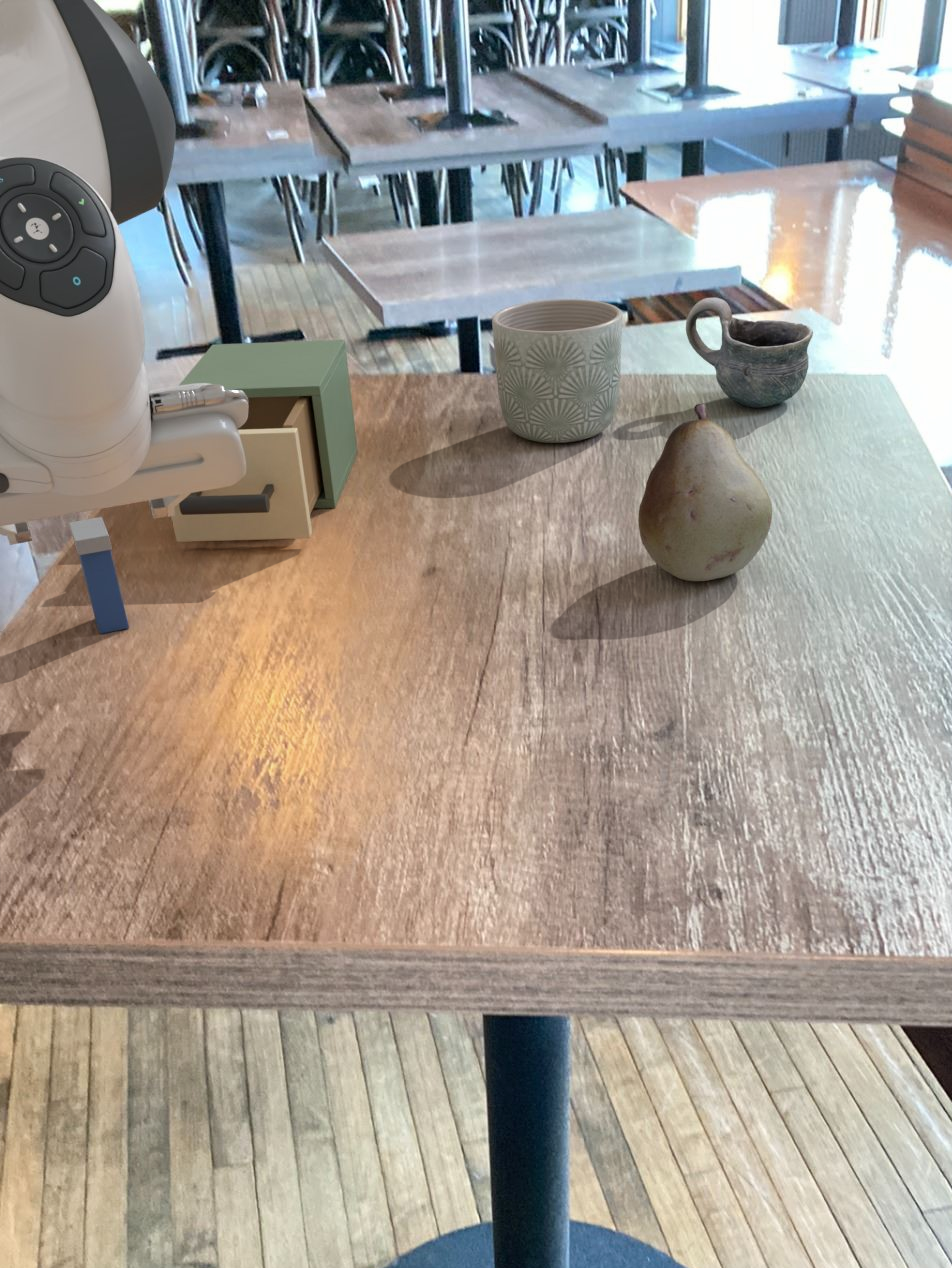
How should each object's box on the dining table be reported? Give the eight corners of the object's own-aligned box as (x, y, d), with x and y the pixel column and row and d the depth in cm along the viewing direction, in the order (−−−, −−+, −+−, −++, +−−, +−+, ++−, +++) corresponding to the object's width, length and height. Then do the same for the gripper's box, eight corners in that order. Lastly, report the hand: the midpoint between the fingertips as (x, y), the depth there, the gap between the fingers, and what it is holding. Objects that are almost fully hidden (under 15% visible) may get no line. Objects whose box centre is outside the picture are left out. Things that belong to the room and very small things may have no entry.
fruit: (718, 536, 109) (725, 386, 102) (795, 573, 102) (809, 415, 95) (616, 567, 105) (616, 413, 98) (690, 608, 98) (696, 446, 91)
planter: (642, 439, 129) (643, 320, 122) (522, 459, 126) (517, 338, 119) (593, 404, 138) (592, 292, 132) (481, 422, 135) (474, 309, 129)
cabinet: (335, 508, 118) (319, 385, 112) (197, 512, 119) (173, 391, 113) (358, 452, 130) (344, 339, 123) (231, 456, 131) (212, 344, 124)
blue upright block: (99, 636, 99) (75, 541, 95) (92, 616, 102) (68, 522, 98) (131, 630, 100) (108, 535, 95) (124, 610, 103) (101, 516, 98)
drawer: (301, 558, 107) (285, 450, 102) (163, 562, 108) (140, 454, 103) (334, 481, 121) (322, 382, 116) (212, 484, 122) (194, 386, 117)
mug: (812, 415, 132) (821, 308, 126) (685, 419, 133) (689, 313, 127) (801, 387, 140) (810, 284, 134) (682, 390, 141) (685, 289, 135)
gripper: (235, 335, 79) (231, 451, 92) (-129, 388, 73) (-78, 503, 87) (264, 432, 78) (255, 535, 91) (-102, 492, 73) (-54, 592, 86)
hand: (90, 520), depth 89 cm, fingers open, 8 cm apart
